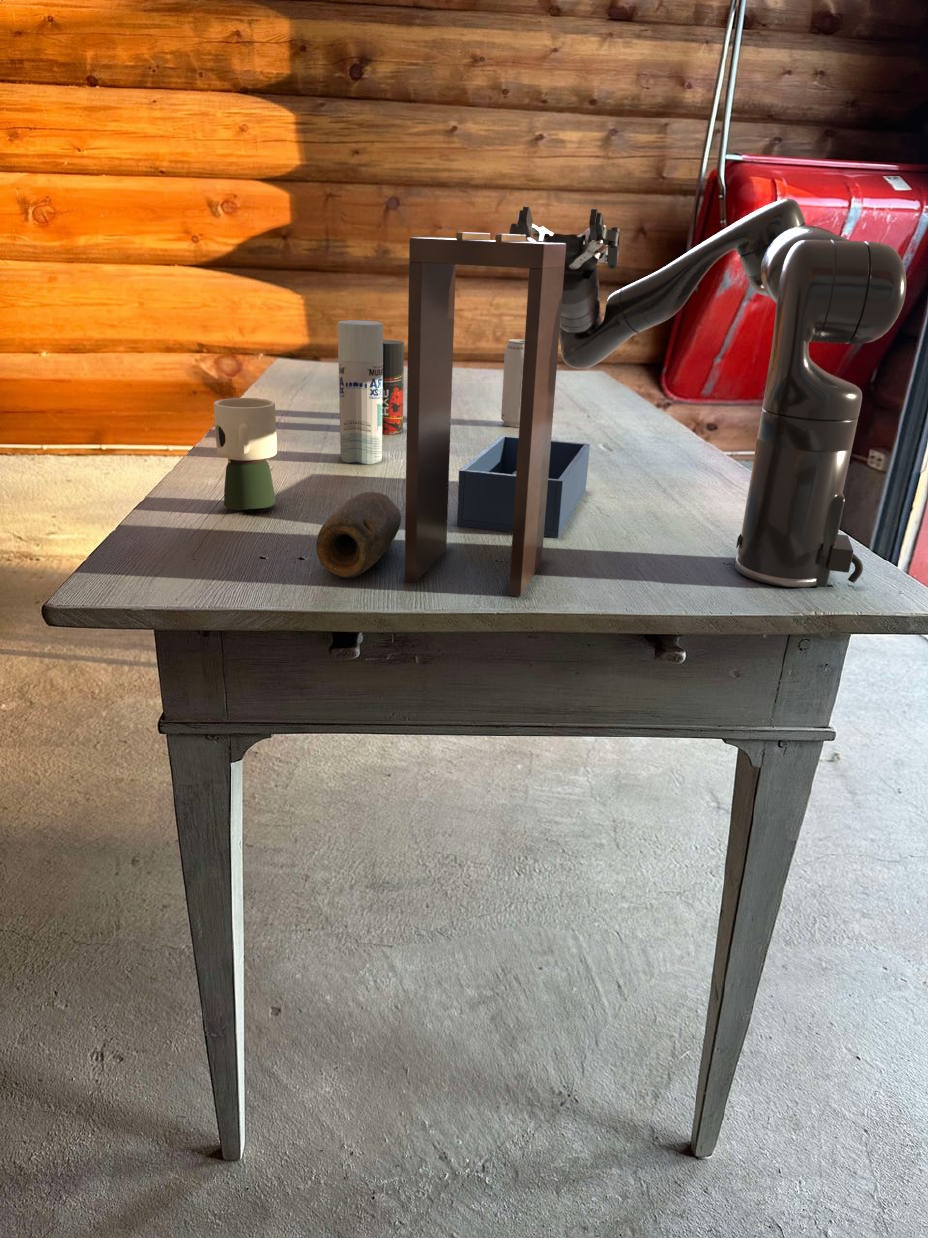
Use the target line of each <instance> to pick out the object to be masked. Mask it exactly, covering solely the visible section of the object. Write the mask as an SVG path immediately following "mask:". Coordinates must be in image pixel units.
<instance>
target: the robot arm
mask: <svg viewBox="0 0 928 1238" xmlns="http://www.w3.org/2000/svg"><path fill="white" fill-rule="evenodd" d="M590 209H591V210H590V216H589V221H588V224H589V225H588V226H589V228H587V229H586V230H585V231H583V232H581V234H579V235H578V234H575V233H570V234H563V233H554V232H552V231H550V230H549V229H548V228H546V227H545V226H540V227H539V226H538V225H536V224H534V219H533V216H532V211H531V208H530V206H526V205H524V206H523V207H522V209H520V210H519V211H518V216H517V221H516V223H511V224H510V227H509V232H508V234H515V235H526V241H525V242H542V243H565V244H566V254H565V265H564V280H563V293H562V306H561V319H560V332H559V347H560V348H559V349H560V355H561V358H562V360H563V363H565V364H566V366H568V367H570V368H573V369H580V370H581V369H582V370H583V369H588V368H591V367H592V366H596V365H597V364H599V363H601V362H602V361H604V360H605V359H606V358H607V357H608V356H610V355H611V354H613V352H614V351H616V350H617V349H618V348H620V346H622V345H623V344H624V343H626V342H627V341H628V340H629V339H630V338H632V337H633V336H635V335H637V334H639V333H642V332H644V331H646V330H649V329H652V328H653V327H655V326H658V325H660V324H662V323H664V322H666V321H668V320H669V319H670V318H672V317H673V316H675V315H676V314H678V313H679V311H681V309H682V308H683V307H684V306H685V304H686V303H687V302H688V300H689V299H690V297H691V296H692V294H693V293H694V291H695V290H696V289H697V287H698V286H699V284H700V282H701V281H702V280H703V278H704V277H705V275H706V274H707V273H708V271H709V270H710V269H711V268H712V267H713V266H714V265H715V264H716V263H717V262H718V261H719V260H721V259H722V258H723V257H724V256H725V255H727V254H729V253H730V252H732V251H736V253H737V255H738V259H739V260H740V263H741V266H742V268H743V271H744V273H745V276H746V278H747V280H748V283H749V285H750V286H751V288H752V289H753V291H755V292H756V293H757V294H759V295H761V296H764V297H768V298H770V299H771V300H772V301H773V302H774V303H775V304H776V305H775V314H774V315H775V316H774V324H773V332H772V333H773V334H772V341H771V350H770V356H769V363H768V368H767V376H766V382H765V383H766V384H765V389H764V396H763V401H762V406H761V407H762V408H761V413H760V419H759V423H758V426H759V427H758V431H757V437H756V441H755V442H756V443H755V448H754V453H753V454H754V455H753V461H752V467H751V473H750V479H749V485H748V490H747V497H746V503H745V509H744V515H743V522H742V527H741V533H740V534H739V536H738V537H737V540H736V547H735V549H737V555H736V558H735V564H734V568H735V570H736V571H737V572H738V573H739V574H741V575H742V576H745V577H746V578H749V579H751V580H754V581H756V582H760V583H763V584H768V585H773V586H779V587H787V588H789V587H790V588H807V587H825V588H826V587H828V583H829V578H830V574H831V571H832V572H839V573H848V574H849V573H850V570H851V565H852V564H853V565H854V570H853V572H852V573H851V574H850V575H849V577H848V578H847V581H848V582H850V583H853V584H855V583H856V582H857V580H858V579H859V578H861V576H862V573H863V571H864V565H863V561H862V560H861V559H860V557H858V556H857V555H856V554H855V553H854V552H855V551H854V548H853V545H852V543H851V541H850V538H849V535H847V534H841V533H840V534H839V531H840V527H841V522H842V517H843V512H844V507H845V502H846V498H845V495H844V493H843V492H844V489H845V484H846V479H847V474H848V470H849V465H850V460H851V459H850V458H851V454H852V449H853V445H854V441H855V435H856V432H857V425H858V420H859V416H860V412H861V406H862V402H863V392H862V390H861V389H860V387H858V386H857V385H856V384H854V383H852V382H850V381H848V380H845V379H843V378H840V377H838V376H835V375H833V374H831V373H829V372H827V371H826V370H824V369H823V368H821V367H820V366H819V365H818V364H817V363H815V362H814V361H813V360H812V358H811V357H810V351H809V349H810V343H827V344H845V345H863V344H868V343H872V342H875V341H876V340H879V339H881V338H882V337H883V336H884V335H886V333H888V332H889V331H890V330H891V328H892V327H893V325H894V324H895V322H896V321H897V319H898V318H899V315H900V314H901V311H902V310H903V307H904V303H905V299H906V293H907V276H906V270H905V265H904V262H903V260H902V258H901V255H900V254H899V253H898V251H897V249H895V248H894V247H892V245H889V244H886V243H882V242H878V241H863V240H861V241H858V240H850V239H848V238H846V237H843V236H841V235H839V234H836V233H834V232H833V231H830V230H828V229H825V228H822V227H819V226H817V225H815V226H814V225H807V222H806V220H805V219H806V218H805V217H804V214H803V211H802V209H801V207H800V204H799V203H798V201H796V200H795V199H793V198H784V199H780V200H777V201H773V202H772V203H769V204H766V205H764V206H763V207H761V208H758V209H757V210H755V211H753V212H751V213H749V214H748V215H745V216H744V217H742V218H740V219H739V220H737V221H735V222H734V223H732V224H731V225H729V226H727V227H725V228H724V229H722V230H720V231H719V232H717V233H716V234H714V235H712V236H711V237H709V238H707V239H706V240H704V241H702V242H701V243H700V244H698V245H696V246H695V247H693V248H691V249H690V250H689V251H687V252H686V253H684V254H683V255H681V256H680V257H678V258H676V259H675V260H673V261H672V262H670V263H668V264H666V266H663V267H662V268H660V269H659V270H657V271H655V272H653V273H651V274H649V275H647V276H645V277H643V278H641V279H639V280H636V281H635V282H634V281H633V282H632V283H630V284H628V285H626V286H624V287H622V288H620V289H618V290H615V291H614V292H612V293H611V294H610V295H609V296H608V297H607V300H606V303H605V307H604V308H605V310H604V316H603V317H602V310H601V302H600V301H601V299H600V280H599V272H598V271H599V270H598V263H601V264H607V268H608V269H609V270H616V269H617V267H618V263H619V262H618V261H619V254H620V248H621V247H620V246H621V245H620V244H621V243H620V242H621V241H620V240H621V237H620V236H621V229H620V228H619V227H617V226H614V227H611V228H610V229H608V228H607V226H606V225H605V221H604V214H603V213H602V212H599V210H598V208H596V207H595V208H593V207H592V208H590ZM531 236H533V238H532V237H531ZM603 245H605V246H606V248H604V249H603V250H602V251H599V249H600V248H602V247H603Z"/></svg>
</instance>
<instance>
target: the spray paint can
mask: <svg viewBox="0 0 928 1238" xmlns="http://www.w3.org/2000/svg"><path fill="white" fill-rule="evenodd" d="M383 340H384V323H383V322H381V321H374V320H362V319H361V320H359V319H357V320H352V319H351V320H350V319H349V320H339V321H338V322H337V351H338V353H337V354H338V359H337V360H338V397H339V398H338V399H339V403H338V404H339V433H340V435H339V447H340V460H341V461H342V462H344V463H347V464H350V465H351V464H352V465H372V464H378V463H380V462H382V458H383V434H382V390H383Z"/></svg>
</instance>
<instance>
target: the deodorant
mask: <svg viewBox="0 0 928 1238" xmlns="http://www.w3.org/2000/svg"><path fill="white" fill-rule="evenodd" d="M404 370H405V341H403V340H397V339H383V390H382V435H396V434H401V433H403V432H404V381H405V380H404V377H405V376H404V373H405V371H404Z"/></svg>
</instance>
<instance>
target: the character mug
mask: <svg viewBox="0 0 928 1238" xmlns="http://www.w3.org/2000/svg"><path fill="white" fill-rule="evenodd" d="M276 415H277V414H276V403H275V402H274V401H273V400H270V399H265V398H258V397H233V398H224V399H218V400H215V401H214V402H213V416H214V433H215V434H214V435H215V436H214V437H215V444H216V445H215V447H216V453H217V455H218V456H219V457H222V458H225V459H227V461H228V462H227V464H226V467H225V475H224V488H223V489H224V490H223V492H224V493H223V507H225V508H227V509H229V510H234V511H243V510H246V511H247V512H248V513H251V512H252V511H253V510H255V509H263V508H264V509H266V508H271V507H273V506H276V497H275V489H274V482H273V477H272V472H271V471H272V470H271V466H270V464H269V462H268V461H267V460H266V459H269V458H272V457H275V456H276V455H277V454H278V442H277V440H278V439H277V418H276Z"/></svg>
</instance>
